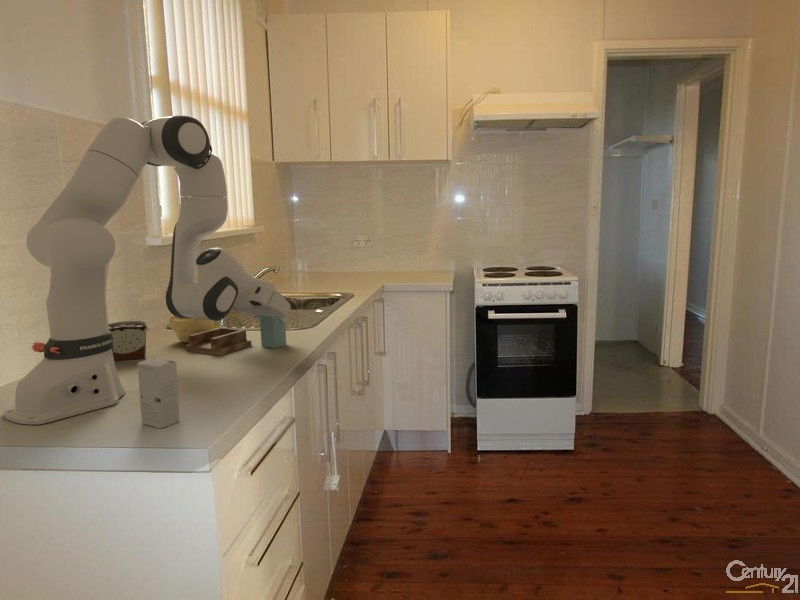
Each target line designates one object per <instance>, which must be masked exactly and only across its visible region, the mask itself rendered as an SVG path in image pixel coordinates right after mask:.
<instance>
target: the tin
mask: <svg viewBox="0 0 800 600" xmlns="http://www.w3.org/2000/svg"><path fill="white" fill-rule="evenodd" d="M259 316H260V320H259V327H260V328H259V329H260V342H261V347H262V346H263V347H262V348H268V347H272V348H271V349H277V348H276V347H278V346H281V345H284V344H286V345H287V334H286V333H287V332H286V330H287V329H286V323H282V322H280V321H279V320H278V319H279V317H275V316H265V315H259ZM284 346H285V345H284ZM281 347H282V346H281ZM278 348H279V347H278Z"/></svg>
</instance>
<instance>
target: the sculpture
mask: <svg viewBox="0 0 800 600" xmlns="http://www.w3.org/2000/svg"><path fill="white" fill-rule="evenodd" d="M168 322H169V327H170V329H171V330H172V331H173V333H174V334H175V336H176V338H177V339H178V340H179V341H181V342H182V343H185V344H189V335H192V334H196V333H200V332H204V331H208V330H212V329H214V320H202V319H194V318H177V317H175V316H174V315H172V314H171V315H170V316H169V318H168Z"/></svg>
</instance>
